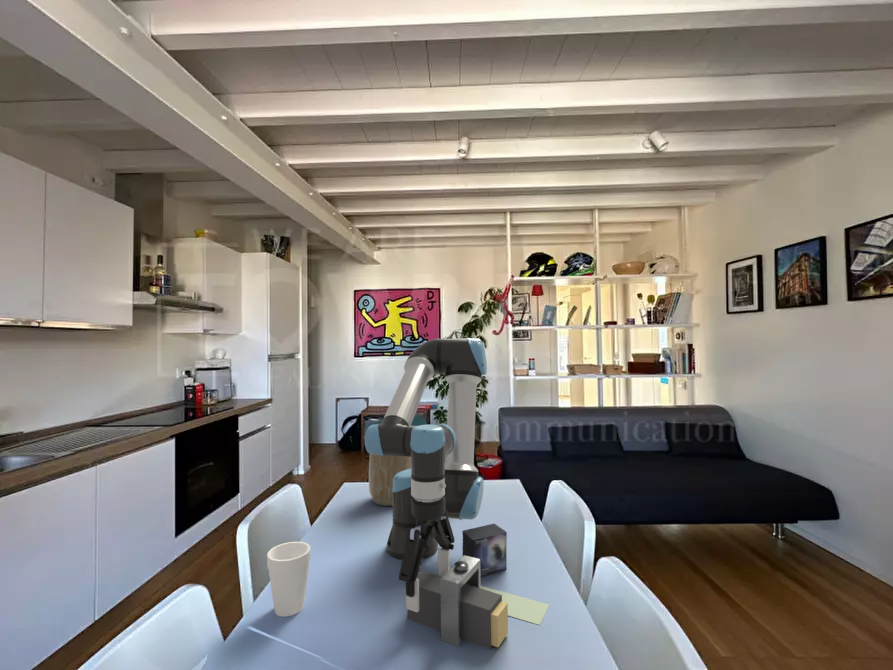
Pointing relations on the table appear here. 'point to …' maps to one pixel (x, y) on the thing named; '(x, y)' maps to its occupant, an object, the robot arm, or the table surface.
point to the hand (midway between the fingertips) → (429, 592)
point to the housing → (456, 596)
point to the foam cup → (288, 576)
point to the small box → (486, 548)
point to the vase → (385, 476)
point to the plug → (464, 611)
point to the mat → (522, 607)
